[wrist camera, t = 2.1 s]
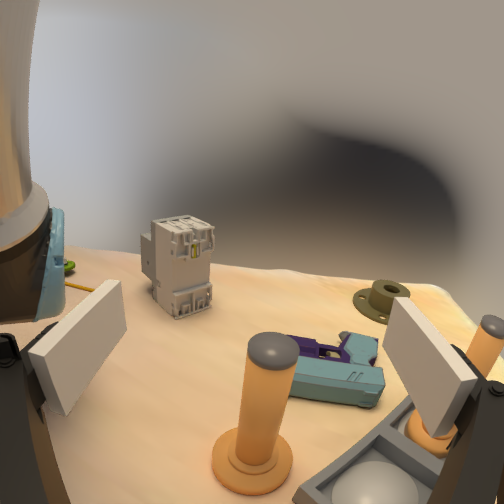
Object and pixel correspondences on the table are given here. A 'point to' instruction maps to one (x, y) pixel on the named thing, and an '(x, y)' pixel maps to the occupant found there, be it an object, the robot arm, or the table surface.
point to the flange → (379, 299)
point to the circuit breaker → (179, 263)
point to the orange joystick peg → (259, 420)
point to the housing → (377, 469)
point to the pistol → (339, 371)
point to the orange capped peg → (483, 357)
